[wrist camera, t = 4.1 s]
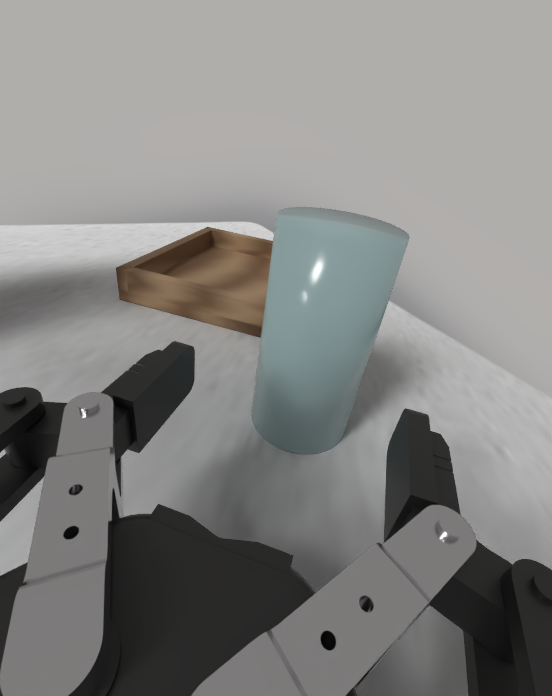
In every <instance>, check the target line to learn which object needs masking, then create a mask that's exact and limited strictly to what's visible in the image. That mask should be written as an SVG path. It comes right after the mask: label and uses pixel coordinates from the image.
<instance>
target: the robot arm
mask: <svg viewBox="0 0 552 696" xmlns="http://www.w3.org/2000/svg"><path fill="white" fill-rule="evenodd" d="M194 362H195V351H194V347H193V346H190V345H186V344H183V343H179V342H176V341H174V342H172V343H171V344H170V345H168V346H167V347H166V348H165V349H164V350H163V351H161V350H156V351H154V352H152V353H149V354H147V355H145V356H144V357H143V358H141V359H140V360H139V361H138V362H137V363H136V365H135V364H134V365H133V366H132V367H131V368H130V369H129V371H126V372H125V373H124V374H122V375H121V376H120V377H119V378H118V379H117V380H115V381H114V382H113V383H112V384H111V385H109V386H108V387H107V388H106V389H105V390H103V391H102V392H101V393H96V392H94V393H86V394H82V395H80V396H77V397H75V398H74V399H72V400H71V401H70V402H68V403H55V402H43V399H42V396H41V393H40V392H39V391H38V390H36V389H34V388H28V387H21V388H14V389H10V390H7V391H4V392H2V393H0V452H1V451H2V450H3V449H5V451H6V454H5V455H4V456H3V457H1V458H0V521H1V520H2V519H3V518H4V517H5V516H6V515H7V514H8V513H9V512H10V511H11V510H12V509H13V508H14V507H15V506H16V505H17V504H18V503H19V502H20V501H21V500H22V499H23V498H24V497H25V496H26V495H27V494H28V493H29V492H30V490H31V489H32V488H33V487H34V486H35V485H36V484H37V483H38V482H39V481H40V480H41V479H42V478H43V477H44V476H45V477H44V482H43V487H42V492H41V497H40V502H39V508H38V513H37V518H36V523H35V528H34V533H33V539H32V544H31V549H30V554H29V559H28V562H27V563H25V564H23V565H21V566H19V567H17V568H15V569H13V570H11V571H9V572H7V573H5V574H3V575H1V576H0V696H357V694H356V691H355V689H356V688H357V687H358V686H359V685H360V684H361V682H362V681H363V680H364V679H365V678H366V677H367V676H368V674H369V673H370V672H371V671H372V670H373V669H374V668H375V666H376V665H377V664H378V663H379V662H380V661H381V659H382V658H383V657H384V656H385V655H386V654H387V653H388V651H389V650H390V649H391V648H392V647H393V646H394V644H395V643H396V642H397V641H398V640H399V639H400V638H401V637H402V635H403V634H404V633H405V632H406V631H407V630H408V629H409V627H410V626H411V625H412V624H413V623H414V622H415V621H416V620H417V618H418V617H419V616H420V615H421V614H422V613H423V612H424V610H425V609H426V608H427V607H428V606H429V605H430V606H432V607H433V608H434V609H436V610H437V611H438V612H440V613H441V614H442V615H444V616H445V617H446V618H448V619H449V620H450V621H452V622H453V623H454V624H456V625H457V626H458V627H460V628H461V629H462V630H463V632H464V644H465V656H466V668H467V681H468V693H469V696H552V570H550V569H549V568H548V567H546V566H544V565H543V564H541V563H538V562H536V561H533V560H529V559H521V560H518V561H516V562H515V563H514V564H511V563H509V562H508V561H506V560H505V559H503V558H502V557H500V556H498V555H497V554H495V553H494V552H492V551H490V550H489V549H487V548H486V547H484V546H483V545H482V544H481V543H479V542H478V541H477V540H476V537H475V534H474V532H473V530H472V528H471V526H470V525H469V523H468V522H467V521H466V520H465V519H464V518H463V517H462V516H461V515H460V509H459V503H458V498H457V492H456V486H455V480H454V474H453V473H452V472H453V468H452V463H451V457H450V451H449V447H448V445H447V443H446V442H445V440H444V439H443V437H442V436H441V434H439V433H435V432H432V431H430V424H429V416H428V415H427V414H423V413H420V412H416V411H413V410H410V409H404V411H403V413H402V415H401V417H400V419H399V421H398V424H397V426H396V428H395V430H394V433H393V435H392V437H391V440H390V443H389V446H388V451H387V465H386V496H385V527H384V542H385V543H384V544H382V545H381V544H380V543H377V544H375V545H373V546H372V547H371V548H369V549H368V550H367V551H366V552H365V553H363V554H362V555H361V556H360V557H359V558H357V559H356V560H355V561H354V562H353V563H351V564H350V565H349V566H348V567H347V568H345V569H344V570H343V571H342V572H341V573H339V574H338V575H337V576H336V577H335V578H333V579H332V580H331V581H330V582H329V583H327V584H326V585H325V586H324V587H323V588H321V589H320V590H319V591H318V592H317V593H315V592H314V590H313V589H312V587H311V586H310V585H309V584H308V583H307V581H306V580H305V579H304V578H303V577H302V576H301V575H300V574H299V573H298V572H296V571H295V570H294V569H292V568H291V567H290V566H291V562H292V558H293V555H290V554H288V553H285V552H282V551H280V550H277V549H275V548H272V547H269V546H267V545H264V544H262V543H259V542H251V541H242V540H232V539H223V538H219V537H217V536H215V535H214V534H213V533H211V532H210V531H209V530H208V529H206V528H205V527H204V526H202V525H201V524H200V523H198V522H197V521H196V520H194V519H193V518H192V517H190V516H188V515H186V514H183V513H181V512H178V511H175V510H173V509H170V508H167V507H165V506H162V505H160V504H158V505H157V506H156V508H155V510H154V511H153V513H152V514H136V515H130V516H126V517H124V513H123V472H122V455H123V454H124V453H125V452H126V450H127V449H129V450H131V451H134V452H137V453H140V452H141V450H142V449H143V448H144V447H145V446H146V444H147V443H148V442H149V441H150V439H151V438H152V437H153V436H154V435H155V433H156V432H157V431H158V430H159V429H160V427H161V426H162V425H163V424H164V423H165V421H166V420H167V419H168V418H169V417H170V415H171V414H172V413H173V412H174V411H175V409H176V408H177V407H178V406H179V405H180V403H181V402H182V401H183V400H184V399H185V397H186V396H187V395H188V394H189V392H190V391H191V389H192V386H193V383H194Z"/></svg>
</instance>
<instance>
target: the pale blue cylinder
mask: <svg viewBox="0 0 552 696" xmlns="http://www.w3.org/2000/svg"><path fill="white" fill-rule="evenodd" d="M408 241H409V235H408V234H407V233H406V232H405V231H404V230H402V229H400V228H398V227H396V226H394V225H392V224H389V223H386V222H384V221H381V220H378V219H374V218H371V217H367V216H363V215H359V214H354V213H350V212H344V211H338V210H332V209H324V208H312V207H293V208H285V209H282V210H279V211H278V212H277V215H276V223H275V231H274V238H273V246H272V254H271V262H270V270H269V278H268V285H267V293H266V301H265V309H264V317H263V325H262V332H261V340H260V348H259V356H258V364H257V372H256V380H255V387H254V395H253V403H252V411H251V416H252V421H253V424H254V426H255V428H256V430H257V431H258V432H259V434H260V435H261V436H262V437H263V438H264V439H265V440H267V441H268V442H269V443H271V444H272V445H274V446H276V447H278V448H280V449H283V450H285V451H289V452H292V453H298V454H315V453H321V452H324V451H327V450H329V449H331V448H332V447H334V446H335V445H336V444H338V443H339V441H340V440H341V439H342V437H343V435H344V432H345V429H346V426H347V423H348V420H349V417H350V414H351V411H352V408H353V405H354V402H355V399H356V396H357V393H358V390H359V387H360V384H361V381H362V378H363V375H364V372H365V369H366V366H367V363H368V360H369V357H370V354H371V351H372V348H373V345H374V342H375V339H376V336H377V333H378V330H379V327H380V325H381V322H382V319H383V316H384V313H385V310H386V307H387V304H388V301H389V298H390V295H391V292H392V289H393V285H394V283H395V280H396V277H397V274H398V271H399V268H400V265H401V262H402V259H403V256H404V253H405V250H406V247H407V244H408Z"/></svg>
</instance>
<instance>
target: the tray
mask: <svg viewBox="0 0 552 696" xmlns="http://www.w3.org/2000/svg"><path fill="white" fill-rule="evenodd" d="M272 246H273V241H269V240H265V239H260V238H256V237H251V236H247V235H242V234H237V233H233V232H228V231H224V230H219V229H214V228H210V227H206V228H204V229H202V230H200V231H197V232H195V233H193V234H191V235H189V236H186V237H184V238H182V239H180V240H177V241H175V242H173V243H171V244H168V245H166V246H164V247H162V248H160V249H157V250H155V251H153V252H151V253H148V254H146V255H144V256H142V257H139V258H137V259H135V260H133V261H131V262H128V263H126V264H124V265H122V266H119V267H117V268H116V272H117V280H118V289H119V297H120V299H121V300H124V301H128V302H132V303H136V304H139V305H143V306H147V307H150V308H154V309H158V310H161V311H165V312H169V313H173V314H176V315H180V316H184V317H187V318H191V319H195V320H199V321H202V322H206V323H210V324H213V325H217V326H221V327H224V328H228V329H232V330H236V331H239V332H243V333H247V334H250V335H254V336H258V337H261V332H262V325H263V317H264V309H265V301H266V293H267V285H268V278H269V270H270V262H271V254H272Z"/></svg>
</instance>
